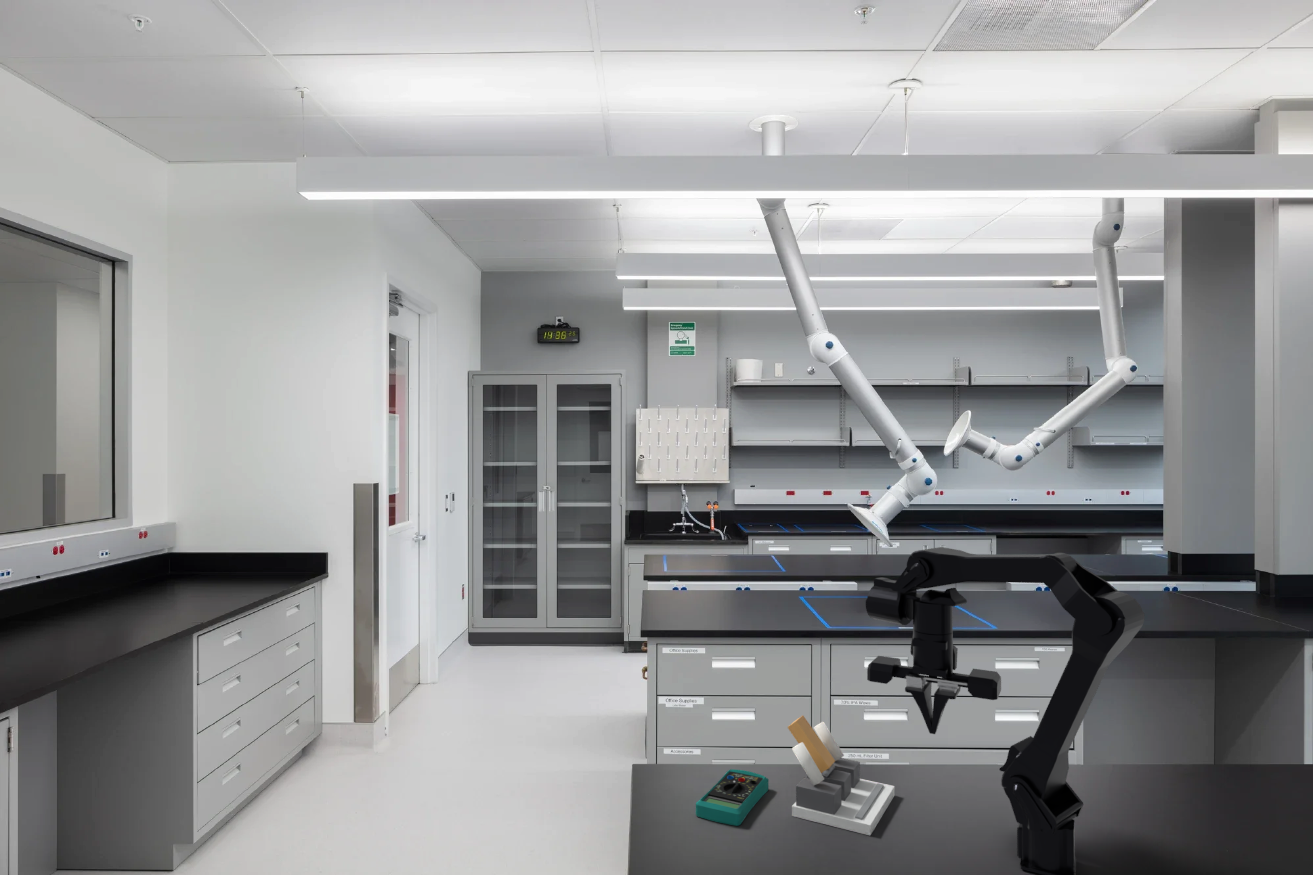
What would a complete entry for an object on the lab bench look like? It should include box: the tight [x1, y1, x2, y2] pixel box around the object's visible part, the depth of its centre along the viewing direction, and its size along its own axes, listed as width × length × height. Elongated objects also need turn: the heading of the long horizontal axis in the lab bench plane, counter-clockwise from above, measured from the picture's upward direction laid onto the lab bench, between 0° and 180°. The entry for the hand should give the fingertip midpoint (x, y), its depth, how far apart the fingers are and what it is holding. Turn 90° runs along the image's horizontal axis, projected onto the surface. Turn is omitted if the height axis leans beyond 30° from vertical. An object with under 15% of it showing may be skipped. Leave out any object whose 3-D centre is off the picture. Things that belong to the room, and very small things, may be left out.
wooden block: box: [787, 714, 835, 777], centre depth 125 cm, size 2×4×9 cm
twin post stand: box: [791, 721, 896, 836], centre depth 123 cm, size 13×15×11 cm
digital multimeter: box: [695, 768, 770, 827], centre depth 124 cm, size 7×15×3 cm, turn 153°
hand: (933, 733), depth 118 cm, fingers closed
